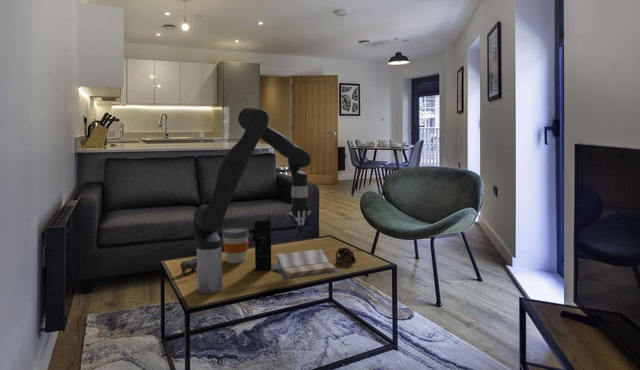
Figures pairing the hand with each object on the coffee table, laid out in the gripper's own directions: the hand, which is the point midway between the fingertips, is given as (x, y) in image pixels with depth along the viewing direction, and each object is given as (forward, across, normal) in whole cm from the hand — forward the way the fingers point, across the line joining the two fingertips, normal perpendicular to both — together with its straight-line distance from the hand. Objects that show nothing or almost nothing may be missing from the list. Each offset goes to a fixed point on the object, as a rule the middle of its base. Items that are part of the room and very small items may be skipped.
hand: (300, 232), depth 198 cm
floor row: (+15, 0, -12) cm, 19 cm away
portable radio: (+15, -18, 0) cm, 24 cm away
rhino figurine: (+15, -47, +9) cm, 50 cm away
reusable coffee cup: (+15, -26, +18) cm, 35 cm away
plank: (+13, 0, -3) cm, 13 cm away
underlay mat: (+15, 0, -6) cm, 16 cm away
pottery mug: (+16, +21, -4) cm, 26 cm away
